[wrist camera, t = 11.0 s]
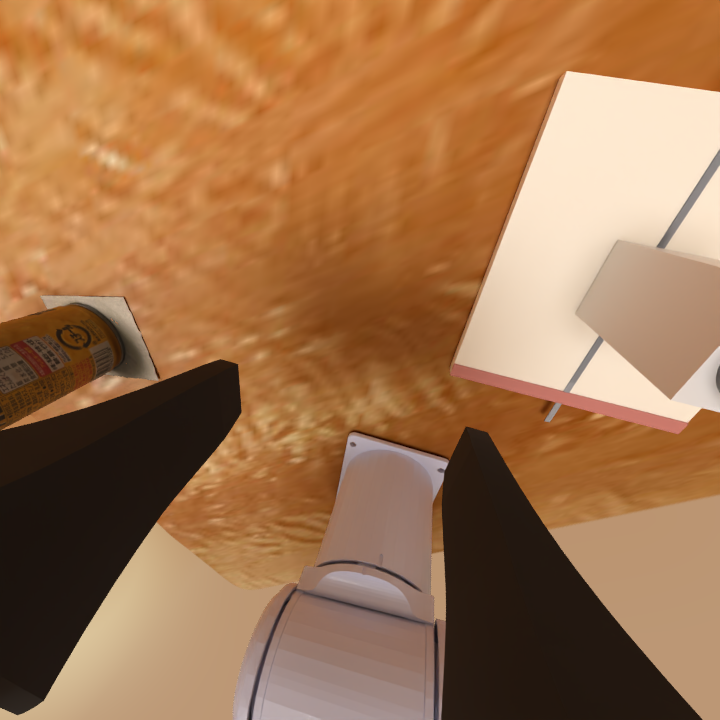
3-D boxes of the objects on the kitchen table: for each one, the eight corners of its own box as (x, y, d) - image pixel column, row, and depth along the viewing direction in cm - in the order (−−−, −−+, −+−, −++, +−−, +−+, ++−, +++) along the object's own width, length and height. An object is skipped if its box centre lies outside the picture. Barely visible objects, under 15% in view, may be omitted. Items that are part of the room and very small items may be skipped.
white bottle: (650, 331, 15) (855, 466, 8) (575, 313, 15) (700, 427, 8) (706, 257, 13) (1048, 342, 6) (618, 239, 13) (832, 297, 6)
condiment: (42, 295, 24) (-242, 369, 14) (125, 296, 23) (-134, 383, 12) (86, 371, 28) (-116, 475, 18) (161, 378, 26) (-18, 499, 16)
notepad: (651, 441, 19) (660, 452, 18) (442, 386, 20) (442, 393, 19) (996, 75, 10) (1043, 65, 9) (579, 24, 11) (590, 12, 10)
